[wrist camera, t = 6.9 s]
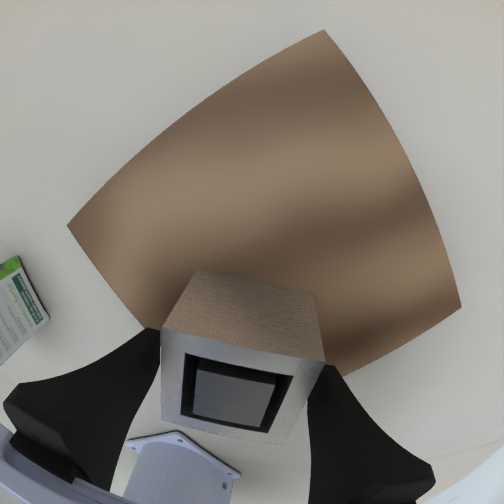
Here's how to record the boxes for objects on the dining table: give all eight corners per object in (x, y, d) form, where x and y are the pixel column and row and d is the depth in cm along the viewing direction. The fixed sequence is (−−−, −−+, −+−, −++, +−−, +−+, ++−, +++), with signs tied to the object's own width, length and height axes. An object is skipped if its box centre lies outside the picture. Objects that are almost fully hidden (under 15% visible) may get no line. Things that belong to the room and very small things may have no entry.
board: (450, 295, 15) (461, 307, 13) (237, 402, 19) (234, 417, 18) (319, 40, 11) (323, 29, 9) (81, 218, 15) (66, 225, 14)
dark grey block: (277, 312, 14) (275, 385, 10) (265, 354, 15) (259, 426, 11) (221, 300, 14) (197, 369, 10) (214, 343, 15) (192, 413, 11)
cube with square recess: (312, 292, 14) (325, 361, 9) (282, 373, 16) (281, 445, 11) (198, 267, 14) (162, 327, 9) (188, 353, 16) (161, 419, 11)
